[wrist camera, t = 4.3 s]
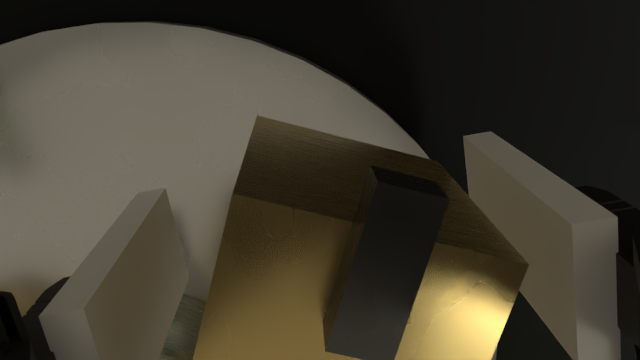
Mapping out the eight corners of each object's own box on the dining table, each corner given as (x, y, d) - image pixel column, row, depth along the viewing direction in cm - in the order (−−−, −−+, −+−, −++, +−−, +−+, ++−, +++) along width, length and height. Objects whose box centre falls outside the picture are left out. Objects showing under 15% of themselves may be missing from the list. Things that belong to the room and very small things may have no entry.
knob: (372, 279, 18) (446, 540, 10) (226, 245, 18) (160, 489, 9) (427, 108, 17) (575, 230, 8) (269, 67, 16) (241, 147, 8)
